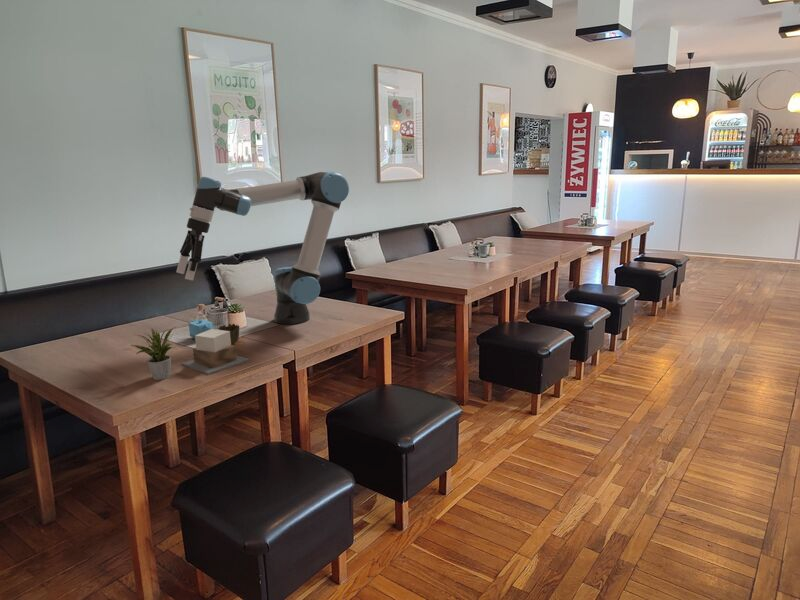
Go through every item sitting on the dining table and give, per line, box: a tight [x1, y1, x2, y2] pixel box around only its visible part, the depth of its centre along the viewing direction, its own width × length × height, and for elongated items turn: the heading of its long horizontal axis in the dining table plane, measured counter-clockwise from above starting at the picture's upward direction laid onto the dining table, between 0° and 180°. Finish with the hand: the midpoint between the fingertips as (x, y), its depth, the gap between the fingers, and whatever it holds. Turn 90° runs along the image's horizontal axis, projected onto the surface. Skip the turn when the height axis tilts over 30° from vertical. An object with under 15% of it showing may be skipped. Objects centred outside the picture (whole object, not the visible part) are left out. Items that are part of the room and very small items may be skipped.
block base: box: [192, 345, 237, 368], centre depth 193 cm, size 10×10×5 cm
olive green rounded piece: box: [217, 323, 240, 347], centre depth 209 cm, size 8×7×8 cm
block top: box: [194, 328, 231, 352], centre depth 192 cm, size 8×8×5 cm
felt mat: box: [181, 354, 250, 376], centre depth 194 cm, size 16×16×1 cm
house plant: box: [130, 326, 177, 381], centre depth 182 cm, size 14×14×16 cm
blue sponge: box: [188, 318, 214, 340], centre depth 221 cm, size 12×6×8 cm, turn 50°
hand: (184, 276), depth 205 cm, fingers open, 13 cm apart
